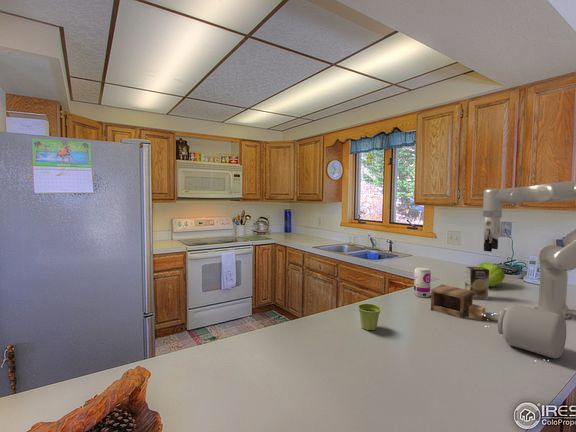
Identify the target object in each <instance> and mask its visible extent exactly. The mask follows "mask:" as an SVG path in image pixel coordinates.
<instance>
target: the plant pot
mask: <svg viewBox="0 0 576 432" xmlns="http://www.w3.org/2000/svg"><path fill="white" fill-rule="evenodd" d="M357 308H358V310H359V311H358V312H359V316H360V325H361V328H362V329H363V330H365V329H366V330H365V331H368V330H373V331H376V330H377V329H378V328H377V327H378V323H379V317H380V316H379V315H380V314H381V311H382V308H381V306H379V305H377V304H374V303H367V302H366V303H360V304H359V305H357Z"/></svg>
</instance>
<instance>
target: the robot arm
mask: <svg viewBox="0 0 576 432" xmlns="http://www.w3.org/2000/svg"><path fill="white" fill-rule="evenodd" d="M564 201H576V180H571V181H570V180H569V181H559V182H548V183H542V184H534V185H528V186H519V187H507V188H486V189H484V190H483V204H482V206H483V207H482V218H484V223H483V251H484V252H489V253H491V252H492V251H493V250H498V249H499V238H500V237H501V235H502V234H501V229H502V228H501V227H502V226H501V224H502V223H501V219H502V218H503V217H502V216H503V204H505V205H518V204H521V203H554V202H564ZM562 243H563V245H564V246H563V247H562V246H560V245H555V244H554V245H553V244H551V245H546V246H544V247H543V248H542V249H541V250H540V251H539V254H538V260H539V268H540V269H539V271H540V272H539V275H540V276H539V289H538V290H539V291H538V292H539V293H538V306H536V307H533V308H534V309H539V310H543V311H548V312H552V313H557V314H560V315H561V316H562V317H563V318H564V319H565V320H567V319H570V318H571V315H573V316H576V309H571V308H569V307H568V305H567V293H568V278H569V277H568V271H574V270H575V269H576V228H575V229H574V230H572V231H570V232H569V233H567V234H566V235H565V236H564V238H563V242H562Z"/></svg>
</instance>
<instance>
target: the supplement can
mask: <svg viewBox="0 0 576 432" xmlns="http://www.w3.org/2000/svg"><path fill="white" fill-rule="evenodd" d="M413 275H414V276H413V278H414V279H413V295H415V297H418V298H422V299H423V298H425V299H426V298H429V297H431V284H432V283H431V280H432V279H431V278H432V277H431V275H432V272H431V269H430V268H428V267H424V266H423V267H422V266H416V267H415V269H414V272H413Z"/></svg>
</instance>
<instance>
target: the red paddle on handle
mask: <svg viewBox="0 0 576 432" xmlns="http://www.w3.org/2000/svg"><path fill="white" fill-rule="evenodd" d="M482 314H483V315H482ZM484 315H485V316H484ZM468 318H469V319H473V320H477V321H481V322H482V321H483V320H484V319H485V320H487V319H488V320H487V321H492V322H497V323H498V319H497V318H492V317H489V316H486V306H482V305H479V304H474V303H472V305H471V306H469V312H468Z"/></svg>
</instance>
